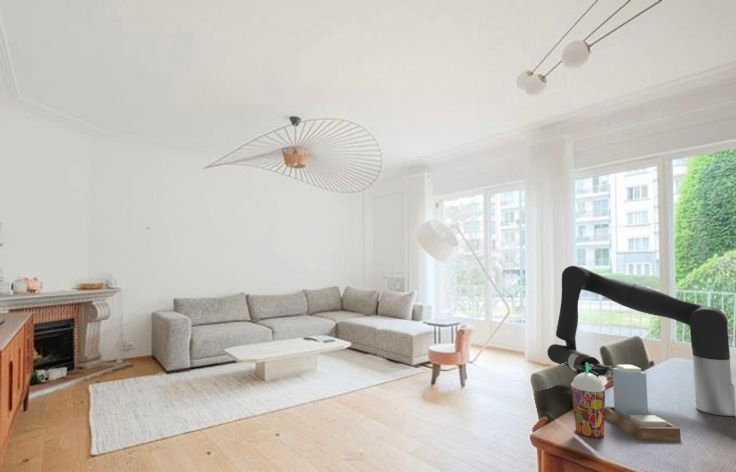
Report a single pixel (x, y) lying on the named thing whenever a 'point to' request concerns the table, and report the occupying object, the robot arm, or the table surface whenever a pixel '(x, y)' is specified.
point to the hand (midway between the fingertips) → (610, 377)
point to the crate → (643, 428)
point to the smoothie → (588, 404)
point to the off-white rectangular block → (648, 421)
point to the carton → (629, 391)
